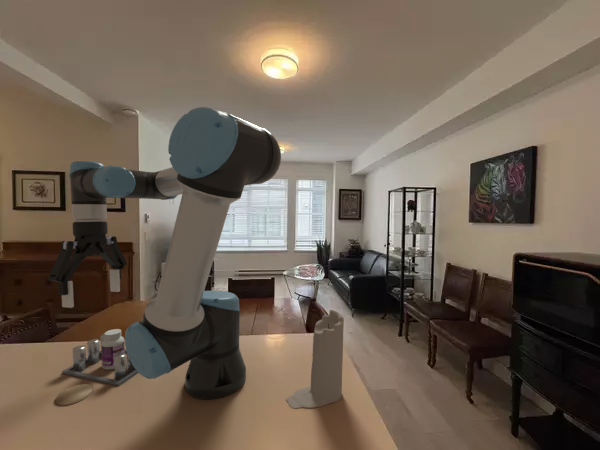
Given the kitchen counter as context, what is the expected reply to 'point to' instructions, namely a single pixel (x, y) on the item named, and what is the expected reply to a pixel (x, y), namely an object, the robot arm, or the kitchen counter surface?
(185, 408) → the kitchen counter surface
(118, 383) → the parts tray rim
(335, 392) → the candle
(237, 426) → the kitchen counter surface
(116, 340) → the pill bottle
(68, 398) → the cork coaster
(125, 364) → the spacers
